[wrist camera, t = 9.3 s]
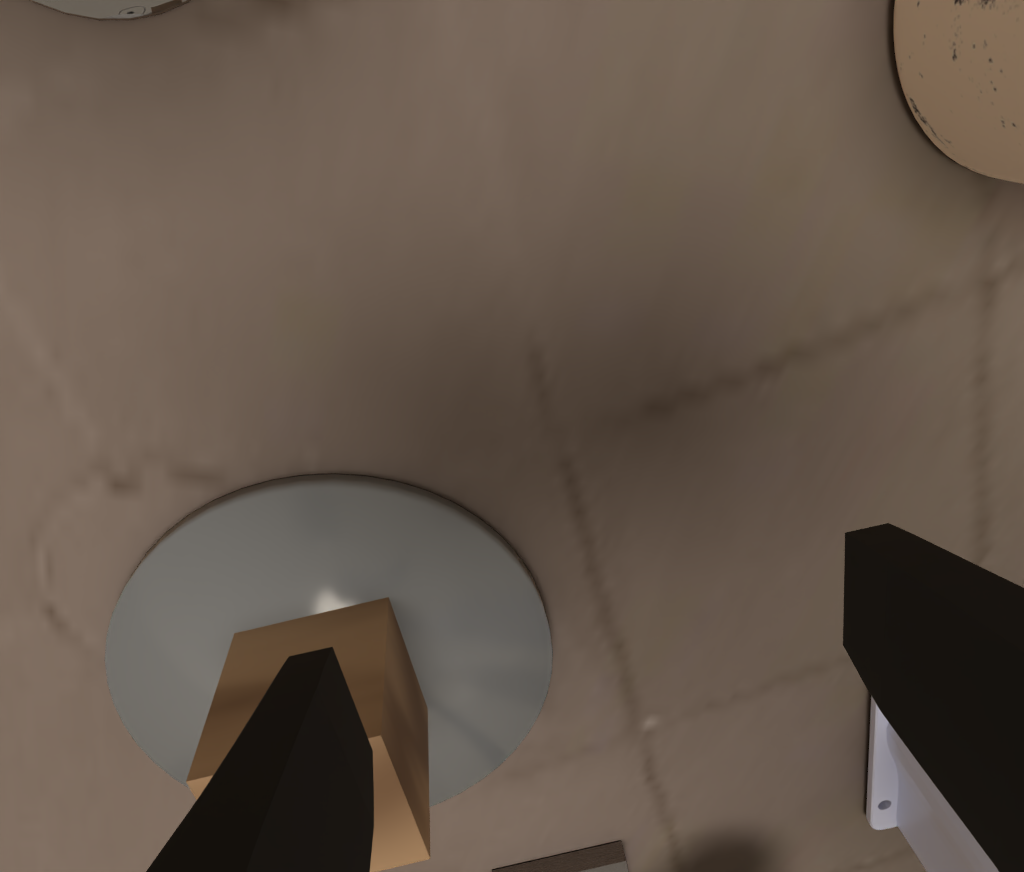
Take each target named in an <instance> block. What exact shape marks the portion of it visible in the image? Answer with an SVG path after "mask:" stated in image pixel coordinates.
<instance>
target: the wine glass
mask: <svg viewBox="0 0 1024 872" xmlns="http://www.w3.org/2000/svg"><path fill="white" fill-rule="evenodd" d="M30 1H32V2H34V3H37V4H39V5H42V6H45V7H48V8H50V9H53V10H56V11H59V12H62V13H64V14H68V15H73V16H79V17H84V18H90V19H95V20H134V19H139V18H144V17H149V16H154V15H159V14H162V13H165V12H167V11H169V10H171V9H174V8H176V7H178V6H181V5H183V4H185V3H187V2H189V1H191V0H30Z"/></svg>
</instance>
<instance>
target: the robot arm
mask: <svg viewBox="0 0 1024 872" xmlns="http://www.w3.org/2000/svg"><path fill="white" fill-rule="evenodd" d="M843 646H844V647H845V649H846V651H847V653H848V655H849V656H850V658H851V660H852V662H853V664H854V666H855V667H856V669H857V671H858V673H859V675H860V677H861V678H862V680H863V682H864V684H865V685H866V687H867V689H868V691H869V692H870V694H871V716H870V739H869V762H868V785H867V809H866V818H867V821H868V822H869V824H870V826H871V827H872V828H873V829H876V830H884V829H888V828H893V827H897V826H898V827H899V829H900V830H901V832H902V834H903V835H904V837H905V838H906V840H907V841H908V843H909V845H910V846H911V848H912V849H913V851H914V852H915V854H916V856H917V857H918V859H919V860H920V862H921V864H922V865H923V867H924V868H925V870H926V871H927V872H1024V588H1023V587H1021V586H1018V585H1016V584H1014V583H1012V582H1010V581H1008V580H1006V579H1004V578H1002V577H1000V576H998V575H996V574H994V573H991V572H989V571H987V570H985V569H983V568H981V567H979V566H977V565H975V564H973V563H971V562H969V561H967V560H965V559H963V558H961V557H959V556H957V555H955V554H953V553H951V552H949V551H947V550H945V549H942V548H940V547H938V546H936V545H934V544H932V543H930V542H928V541H926V540H924V539H922V538H920V537H918V536H916V535H914V534H911V533H909V532H907V531H905V530H903V529H900V528H898V527H896V526H894V525H891V524H889V523H887V524H883V525H878V526H874V527H869V528H865V529H860V530H856V531H851V532H847V533H845V574H844V627H843ZM373 831H374V781H373V750H372V747H371V745H370V742H369V740H368V737H367V735H366V732H365V729H364V727H363V724H362V722H361V719H360V716H359V714H358V711H357V709H356V706H355V703H354V701H353V698H352V696H351V693H350V691H349V688H348V685H347V683H346V680H345V678H344V675H343V672H342V670H341V667H340V665H339V662H338V659H337V657H336V654H335V652H334V649H333V647H329V648H324V649H320V650H315V651H311V652H306V653H302V654H297V655H293V656H289V657H288V658H287V660H286V661H285V663H284V664H283V666H282V667H281V669H280V670H279V672H278V674H277V675H276V677H275V678H274V680H273V681H272V683H271V685H270V686H269V688H268V690H267V691H266V693H265V694H264V696H263V698H262V699H261V701H260V702H259V704H258V706H257V707H256V709H255V711H254V712H253V714H252V715H251V717H250V719H249V720H248V722H247V723H246V725H245V727H244V728H243V730H242V731H241V733H240V735H239V736H238V738H237V739H236V741H235V743H234V744H233V746H232V747H231V749H230V750H229V752H228V753H227V755H226V757H225V758H224V760H223V761H222V763H221V764H220V766H219V767H218V769H217V770H216V772H215V773H214V775H213V776H212V778H211V780H210V781H209V783H208V784H207V786H206V787H205V789H204V790H203V792H202V793H201V795H200V796H199V798H198V799H197V801H196V802H195V804H194V805H193V807H192V808H191V810H190V811H189V812H188V814H187V815H186V817H185V818H184V819H183V821H182V822H181V824H180V825H179V826H178V828H177V829H176V831H175V832H174V833H173V835H172V836H171V838H170V839H169V840H168V842H167V843H166V845H165V846H164V847H163V849H162V850H161V852H160V853H159V854H158V856H157V857H156V859H155V860H154V861H153V863H152V864H151V866H150V867H149V868H148V870H147V871H146V872H370V863H371V853H372V842H373Z"/></svg>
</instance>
